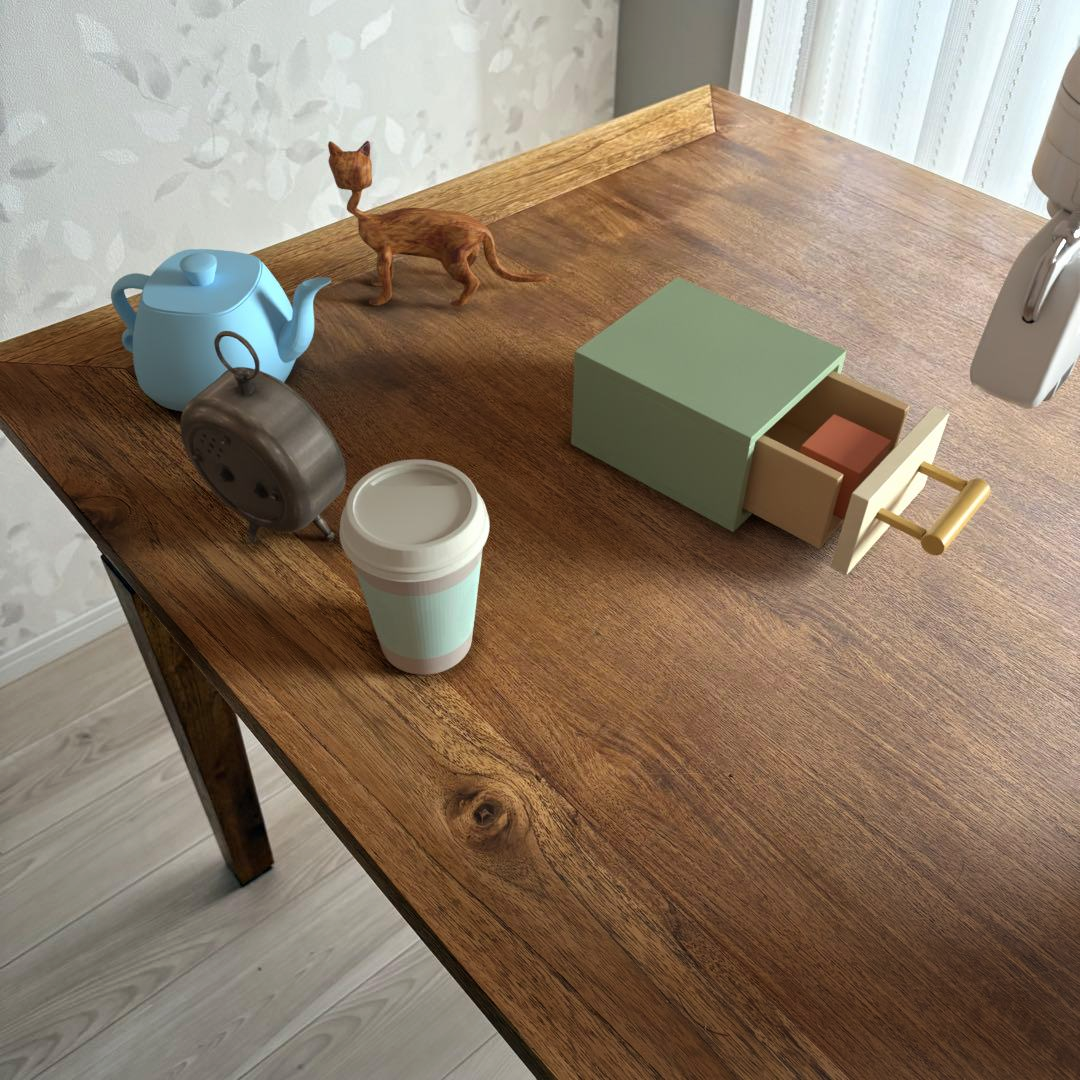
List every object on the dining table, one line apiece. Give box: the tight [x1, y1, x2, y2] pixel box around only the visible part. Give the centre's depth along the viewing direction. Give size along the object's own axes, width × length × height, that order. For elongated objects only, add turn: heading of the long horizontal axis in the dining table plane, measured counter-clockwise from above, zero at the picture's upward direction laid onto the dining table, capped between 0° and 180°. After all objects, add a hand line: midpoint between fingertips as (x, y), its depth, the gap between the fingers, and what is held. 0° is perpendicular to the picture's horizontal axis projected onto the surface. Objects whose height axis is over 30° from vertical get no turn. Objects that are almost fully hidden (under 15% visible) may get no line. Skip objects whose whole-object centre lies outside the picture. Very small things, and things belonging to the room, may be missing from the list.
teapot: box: [110, 248, 332, 413], centre depth 86 cm, size 13×11×18 cm
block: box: [800, 414, 891, 520], centre depth 76 cm, size 4×4×4 cm
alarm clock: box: [180, 331, 347, 544], centre depth 72 cm, size 11×5×16 cm, turn 58°
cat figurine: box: [327, 140, 551, 307], centre depth 94 cm, size 18×7×14 cm, turn 93°
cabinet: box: [570, 276, 848, 533], centre depth 81 cm, size 15×13×9 cm
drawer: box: [743, 371, 992, 576], centre depth 76 cm, size 18×11×7 cm, turn 50°
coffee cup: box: [339, 458, 491, 676], centre depth 66 cm, size 8×8×12 cm
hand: (1043, 385), depth 63 cm, fingers closed
